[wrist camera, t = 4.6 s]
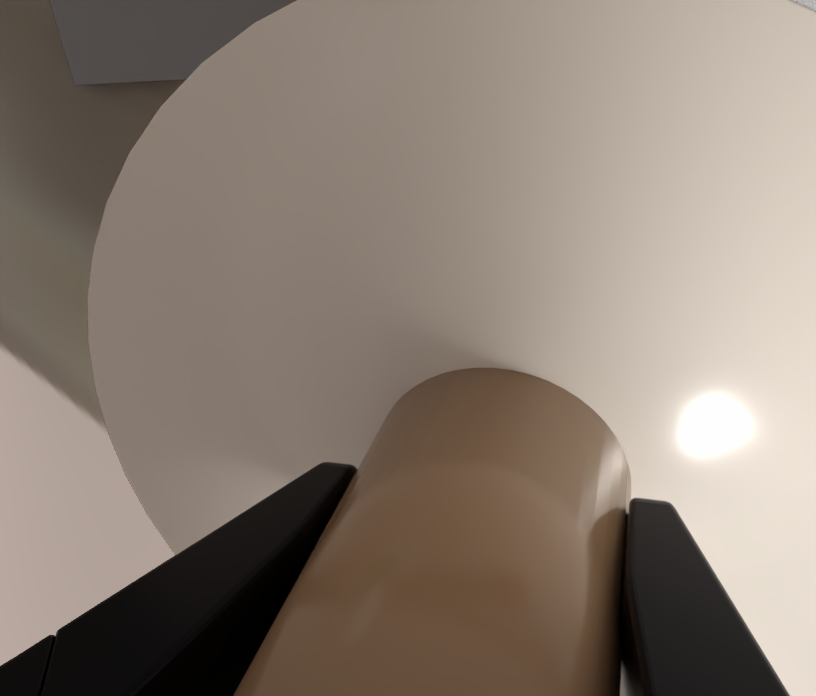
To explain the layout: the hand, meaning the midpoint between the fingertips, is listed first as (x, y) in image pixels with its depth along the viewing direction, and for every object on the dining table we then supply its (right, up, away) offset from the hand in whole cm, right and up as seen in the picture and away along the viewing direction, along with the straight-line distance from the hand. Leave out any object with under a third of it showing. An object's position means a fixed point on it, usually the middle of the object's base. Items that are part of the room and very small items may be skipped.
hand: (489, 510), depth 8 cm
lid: (0, +1, +1) cm, 2 cm away
